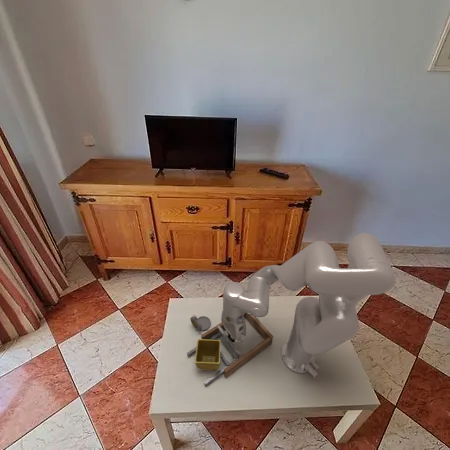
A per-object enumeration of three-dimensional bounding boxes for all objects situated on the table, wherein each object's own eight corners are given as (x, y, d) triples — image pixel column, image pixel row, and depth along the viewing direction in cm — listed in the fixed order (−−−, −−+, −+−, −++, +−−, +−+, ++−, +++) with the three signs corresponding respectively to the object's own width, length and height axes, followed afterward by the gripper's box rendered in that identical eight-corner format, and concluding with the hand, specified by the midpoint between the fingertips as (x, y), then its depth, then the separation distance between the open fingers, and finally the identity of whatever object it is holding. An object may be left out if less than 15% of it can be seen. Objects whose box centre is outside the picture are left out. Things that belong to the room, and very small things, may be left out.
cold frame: (271, 344, 105) (273, 336, 101) (225, 378, 94) (225, 370, 91) (245, 314, 116) (245, 305, 112) (201, 342, 105) (200, 333, 102)
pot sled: (239, 362, 99) (240, 352, 95) (205, 387, 92) (205, 377, 88) (219, 334, 108) (219, 325, 103) (187, 355, 101) (185, 346, 96)
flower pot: (221, 352, 102) (220, 339, 97) (219, 375, 95) (219, 363, 90) (198, 351, 102) (197, 338, 97) (196, 374, 95) (194, 362, 90)
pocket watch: (212, 319, 114) (211, 304, 108) (207, 336, 107) (206, 322, 101) (194, 315, 115) (193, 301, 109) (188, 332, 109) (186, 318, 103)
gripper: (255, 322, 88) (251, 350, 99) (230, 292, 97) (228, 321, 108) (237, 333, 84) (235, 361, 95) (213, 302, 94) (213, 330, 105)
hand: (232, 340), depth 102 cm, fingers closed
